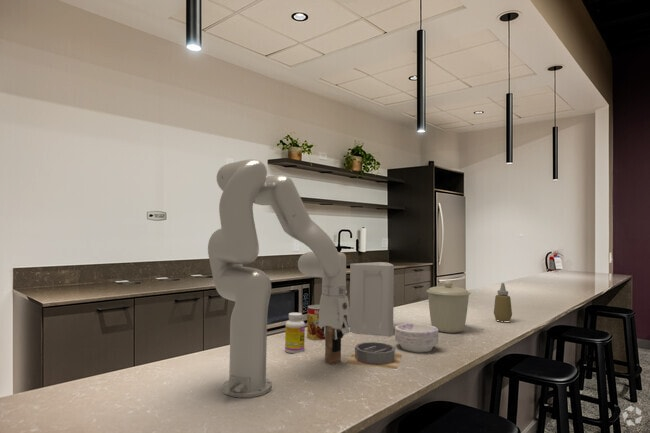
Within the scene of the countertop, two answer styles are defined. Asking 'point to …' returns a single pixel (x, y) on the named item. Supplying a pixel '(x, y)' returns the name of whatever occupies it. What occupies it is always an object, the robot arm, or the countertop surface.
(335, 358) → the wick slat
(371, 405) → the countertop surface
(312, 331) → the canned food
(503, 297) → the squeeze bottle
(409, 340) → the paper bowls
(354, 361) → the cork mat
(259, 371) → the robot arm
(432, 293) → the canister
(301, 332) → the supplement bottle
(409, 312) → the countertop surface
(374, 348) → the clip
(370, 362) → the round grey dish
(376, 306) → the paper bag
